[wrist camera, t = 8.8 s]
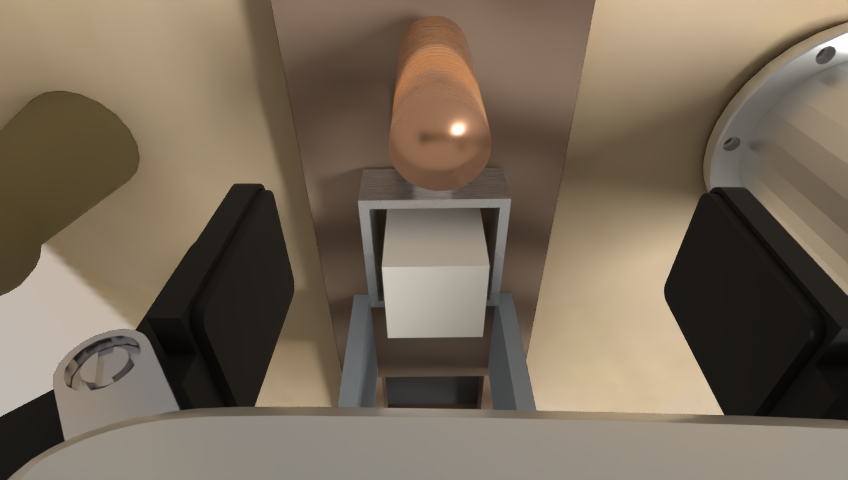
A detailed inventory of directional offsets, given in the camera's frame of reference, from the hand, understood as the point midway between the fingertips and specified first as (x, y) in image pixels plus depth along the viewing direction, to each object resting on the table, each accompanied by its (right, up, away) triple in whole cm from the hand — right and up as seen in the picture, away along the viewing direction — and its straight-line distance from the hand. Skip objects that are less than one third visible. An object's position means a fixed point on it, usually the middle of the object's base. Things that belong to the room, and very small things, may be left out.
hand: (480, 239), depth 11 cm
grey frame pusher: (-1, +4, +15) cm, 15 cm away
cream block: (-1, +1, +18) cm, 18 cm away
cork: (-21, +6, +17) cm, 27 cm away
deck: (-1, -2, +23) cm, 23 cm away
